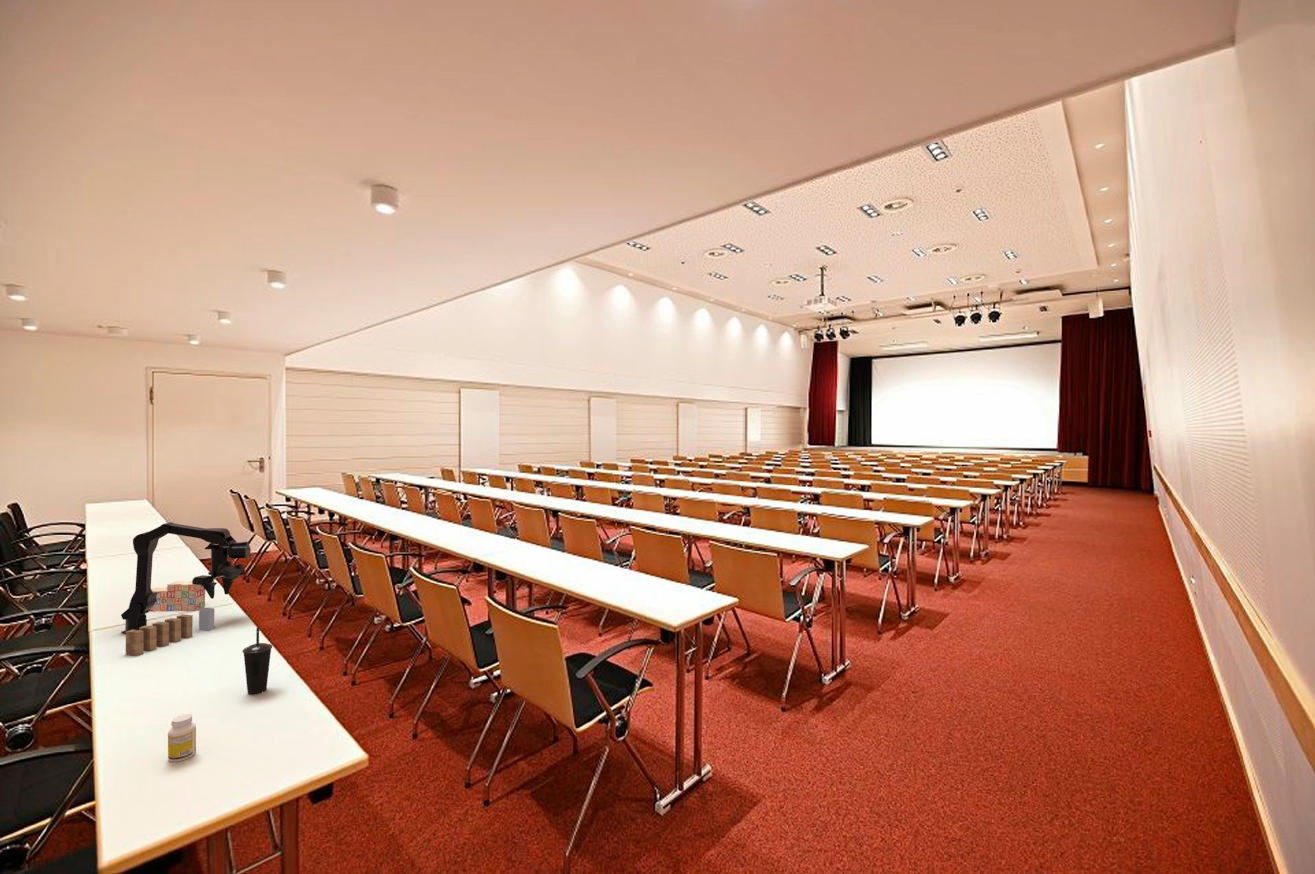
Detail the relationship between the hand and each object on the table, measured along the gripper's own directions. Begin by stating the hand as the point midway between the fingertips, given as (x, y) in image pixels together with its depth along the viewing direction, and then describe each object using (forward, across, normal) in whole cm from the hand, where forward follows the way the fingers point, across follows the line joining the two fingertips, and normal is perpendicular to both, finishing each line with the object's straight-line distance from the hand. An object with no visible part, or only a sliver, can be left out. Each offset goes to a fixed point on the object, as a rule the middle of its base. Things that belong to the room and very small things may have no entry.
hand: (219, 596), depth 238 cm
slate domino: (+12, -5, 0) cm, 13 cm away
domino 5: (+12, -14, 0) cm, 19 cm away
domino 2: (+12, -28, 0) cm, 30 cm away
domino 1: (+12, -32, 0) cm, 35 cm away
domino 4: (+12, -19, 0) cm, 22 cm away
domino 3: (+12, -24, 0) cm, 26 cm away
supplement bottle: (+12, -81, -81) cm, 115 cm away
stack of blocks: (+12, +13, +38) cm, 42 cm away
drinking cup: (+12, -47, -68) cm, 84 cm away
